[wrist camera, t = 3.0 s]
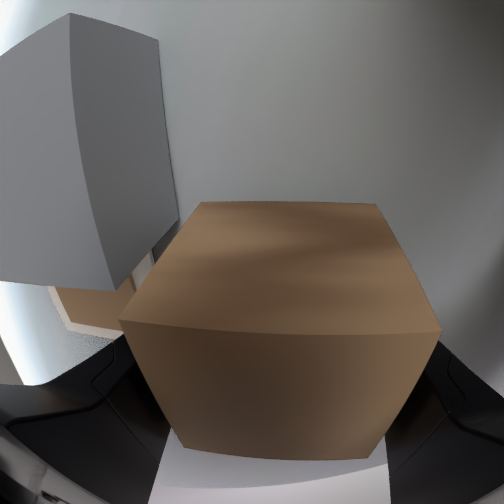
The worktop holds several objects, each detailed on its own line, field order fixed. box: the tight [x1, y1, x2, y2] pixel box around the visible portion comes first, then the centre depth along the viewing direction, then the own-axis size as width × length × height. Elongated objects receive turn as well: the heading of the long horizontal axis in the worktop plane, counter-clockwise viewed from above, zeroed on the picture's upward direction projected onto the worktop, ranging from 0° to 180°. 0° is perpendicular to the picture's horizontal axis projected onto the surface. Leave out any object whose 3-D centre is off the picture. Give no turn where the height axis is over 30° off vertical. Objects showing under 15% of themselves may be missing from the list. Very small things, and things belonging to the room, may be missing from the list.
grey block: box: [0, 13, 179, 291], centre depth 8 cm, size 7×7×5 cm
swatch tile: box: [46, 250, 155, 340], centre depth 14 cm, size 8×8×1 cm
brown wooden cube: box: [118, 201, 442, 460], centre depth 8 cm, size 6×6×6 cm
